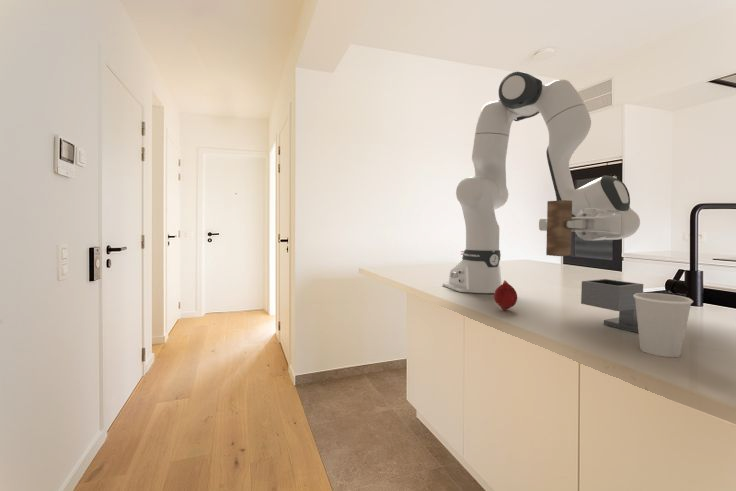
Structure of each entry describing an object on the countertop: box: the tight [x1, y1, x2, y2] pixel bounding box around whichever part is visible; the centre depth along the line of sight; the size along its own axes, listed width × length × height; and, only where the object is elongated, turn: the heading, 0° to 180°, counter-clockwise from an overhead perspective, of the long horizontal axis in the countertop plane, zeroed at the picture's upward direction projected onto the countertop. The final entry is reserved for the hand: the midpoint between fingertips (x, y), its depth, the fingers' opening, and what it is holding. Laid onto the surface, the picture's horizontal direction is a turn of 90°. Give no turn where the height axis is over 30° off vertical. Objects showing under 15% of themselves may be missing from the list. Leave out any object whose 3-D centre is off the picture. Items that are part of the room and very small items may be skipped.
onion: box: [493, 279, 518, 311], centre depth 99 cm, size 6×6×8 cm
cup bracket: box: [580, 278, 644, 334], centre depth 81 cm, size 8×14×10 cm, turn 115°
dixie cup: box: [633, 292, 694, 358], centre depth 66 cm, size 8×8×10 cm
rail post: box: [545, 200, 572, 257], centre depth 95 cm, size 4×4×14 cm
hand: (556, 224), depth 94 cm, fingers closed on rail post, 4 cm apart
